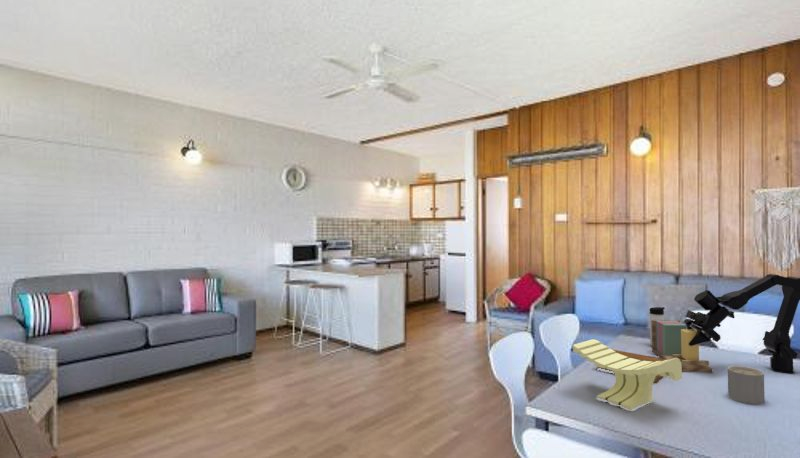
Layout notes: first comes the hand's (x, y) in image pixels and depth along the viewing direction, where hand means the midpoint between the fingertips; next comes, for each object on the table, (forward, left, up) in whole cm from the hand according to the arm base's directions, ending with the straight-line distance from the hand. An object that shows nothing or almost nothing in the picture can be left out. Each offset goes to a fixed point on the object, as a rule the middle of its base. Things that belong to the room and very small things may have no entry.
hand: (686, 343), depth 182 cm
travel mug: (+12, -30, -11) cm, 34 cm away
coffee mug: (-18, +26, -11) cm, 33 cm away
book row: (+6, -16, -9) cm, 19 cm away
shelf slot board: (+3, -9, -11) cm, 14 cm away
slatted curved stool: (+18, +50, -11) cm, 54 cm away
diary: (+19, +15, -11) cm, 27 cm away
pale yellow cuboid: (-1, -1, -7) cm, 7 cm away
